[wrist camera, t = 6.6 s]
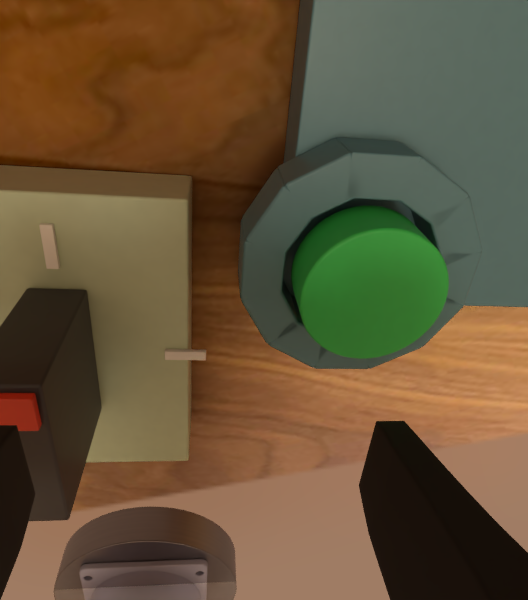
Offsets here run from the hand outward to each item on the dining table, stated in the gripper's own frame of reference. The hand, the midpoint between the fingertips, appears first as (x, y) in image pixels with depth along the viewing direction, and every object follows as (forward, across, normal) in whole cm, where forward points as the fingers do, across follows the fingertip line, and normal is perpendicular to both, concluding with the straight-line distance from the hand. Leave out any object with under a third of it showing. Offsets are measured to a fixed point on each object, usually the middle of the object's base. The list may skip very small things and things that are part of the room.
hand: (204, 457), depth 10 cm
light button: (+5, -4, -2) cm, 7 cm away
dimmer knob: (+6, +5, +2) cm, 8 cm away
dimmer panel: (+9, +5, +2) cm, 10 cm away
